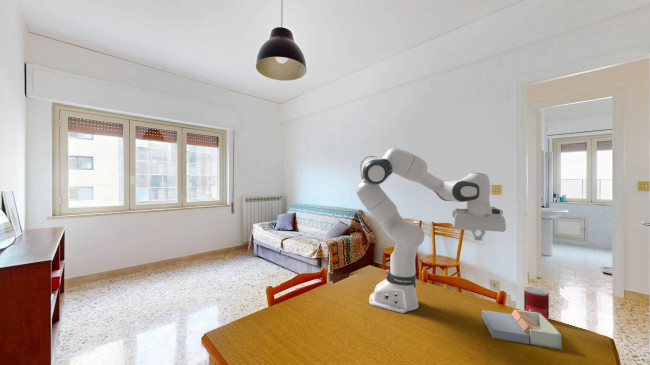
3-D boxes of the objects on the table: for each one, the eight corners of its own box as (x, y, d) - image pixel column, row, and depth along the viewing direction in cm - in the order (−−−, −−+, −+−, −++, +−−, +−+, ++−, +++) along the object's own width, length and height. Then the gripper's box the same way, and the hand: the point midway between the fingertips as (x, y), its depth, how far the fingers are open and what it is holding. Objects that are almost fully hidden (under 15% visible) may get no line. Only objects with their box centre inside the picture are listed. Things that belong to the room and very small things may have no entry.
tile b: (524, 331, 90) (528, 325, 89) (517, 322, 95) (521, 317, 95) (541, 342, 88) (546, 337, 87) (534, 333, 94) (538, 327, 93)
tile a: (517, 321, 96) (520, 316, 96) (511, 313, 102) (514, 308, 101) (533, 331, 94) (537, 326, 94) (527, 323, 100) (530, 318, 100)
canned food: (553, 321, 102) (553, 294, 102) (530, 319, 104) (530, 293, 104) (541, 312, 110) (541, 287, 110) (520, 310, 111) (520, 285, 111)
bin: (530, 344, 88) (530, 329, 88) (514, 321, 102) (514, 309, 102) (561, 349, 85) (561, 334, 85) (540, 325, 99) (540, 313, 99)
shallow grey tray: (492, 337, 92) (492, 329, 92) (481, 316, 106) (481, 309, 106) (529, 344, 88) (529, 335, 88) (512, 321, 102) (513, 314, 102)
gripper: (453, 209, 113) (453, 239, 113) (507, 210, 106) (507, 243, 106) (451, 207, 119) (451, 237, 119) (502, 209, 112) (502, 240, 112)
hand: (478, 240), depth 113 cm, fingers closed
